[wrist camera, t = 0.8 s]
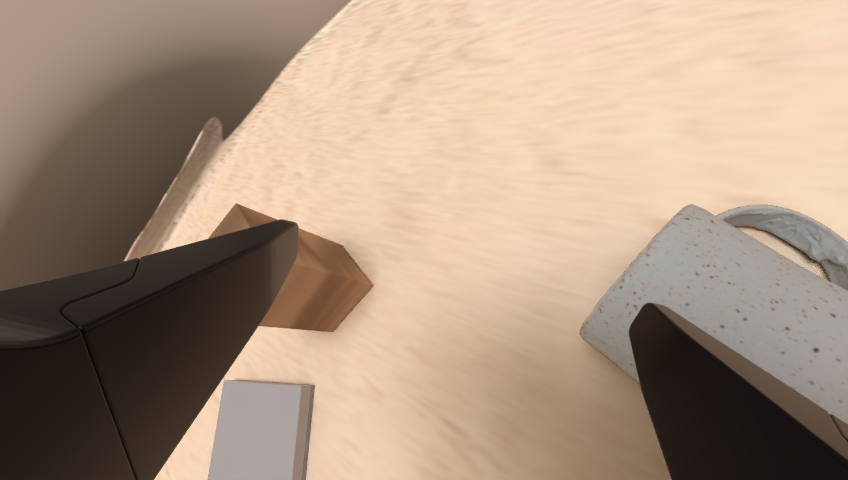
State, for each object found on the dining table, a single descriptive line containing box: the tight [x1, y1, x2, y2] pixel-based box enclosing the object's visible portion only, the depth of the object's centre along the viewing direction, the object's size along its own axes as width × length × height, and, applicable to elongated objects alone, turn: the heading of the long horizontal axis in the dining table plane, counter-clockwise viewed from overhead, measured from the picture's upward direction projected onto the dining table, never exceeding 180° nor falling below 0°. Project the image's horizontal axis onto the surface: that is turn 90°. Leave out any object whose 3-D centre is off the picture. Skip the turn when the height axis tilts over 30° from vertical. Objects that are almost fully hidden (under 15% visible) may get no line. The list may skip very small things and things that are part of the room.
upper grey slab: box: [208, 380, 311, 480], centre depth 28 cm, size 9×9×1 cm
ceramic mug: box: [580, 204, 848, 424], centre depth 15 cm, size 11×8×8 cm
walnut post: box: [208, 204, 373, 332], centre depth 25 cm, size 5×5×10 cm
